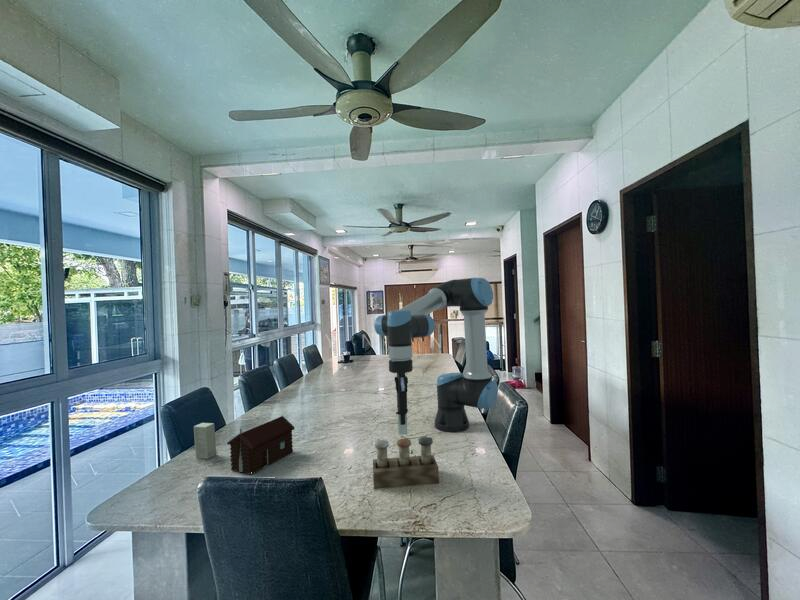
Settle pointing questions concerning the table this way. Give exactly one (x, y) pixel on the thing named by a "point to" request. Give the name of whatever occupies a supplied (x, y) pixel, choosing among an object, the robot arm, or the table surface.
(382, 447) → the plug cream
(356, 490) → the table surface
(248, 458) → the model building
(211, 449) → the skincare box
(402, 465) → the plug terracotta
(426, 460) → the plug charcoal
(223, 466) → the table surface
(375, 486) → the socket block
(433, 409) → the table surface
